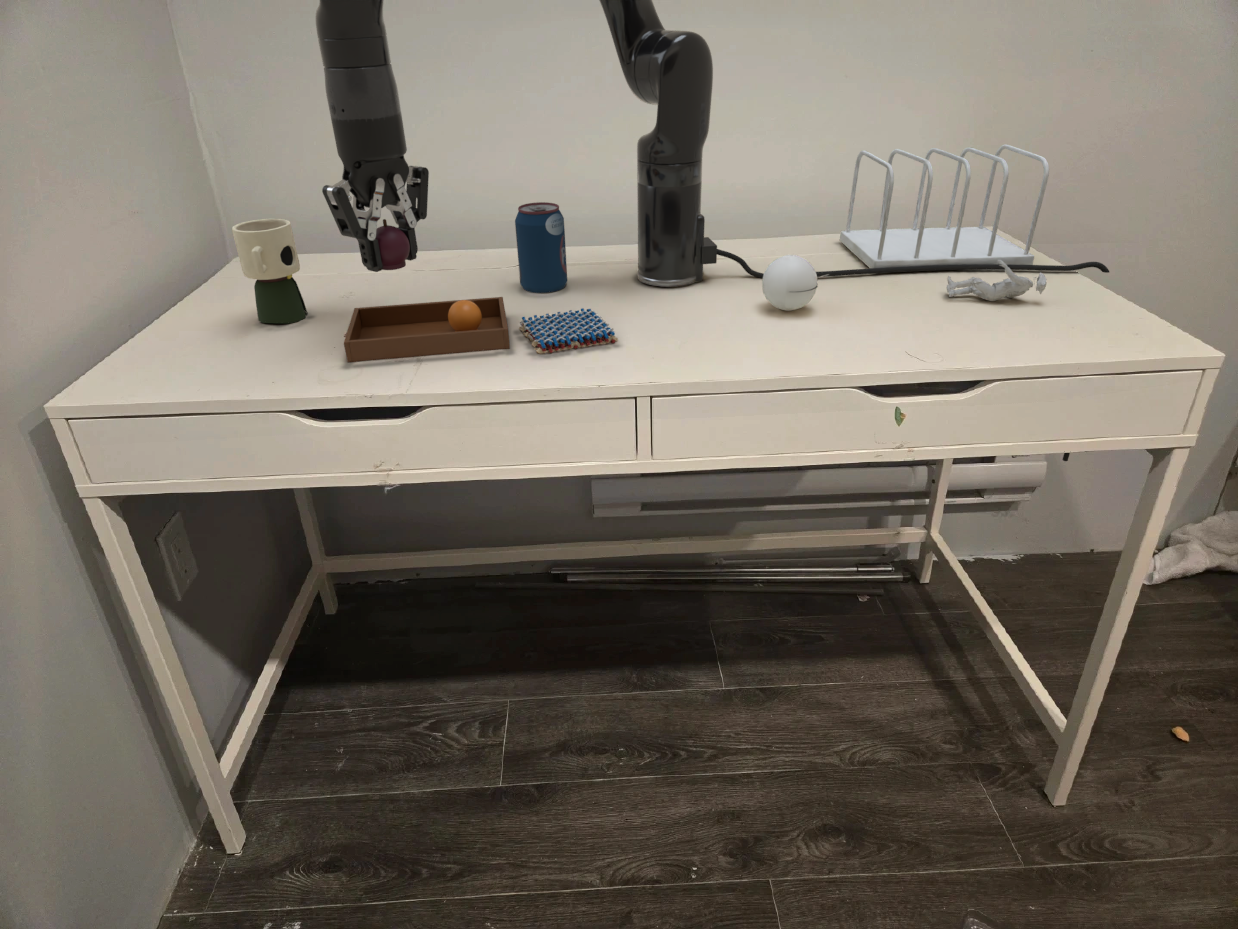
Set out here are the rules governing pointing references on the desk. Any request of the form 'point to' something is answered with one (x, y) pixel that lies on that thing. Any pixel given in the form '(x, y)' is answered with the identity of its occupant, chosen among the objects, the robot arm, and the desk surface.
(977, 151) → the file sorter
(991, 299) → the soldier figure
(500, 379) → the desk surface
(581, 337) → the woven mat
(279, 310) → the character mug
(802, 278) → the seamed sphere
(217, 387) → the desk surface
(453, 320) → the apricot
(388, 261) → the plum
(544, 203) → the soda can
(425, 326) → the tray
